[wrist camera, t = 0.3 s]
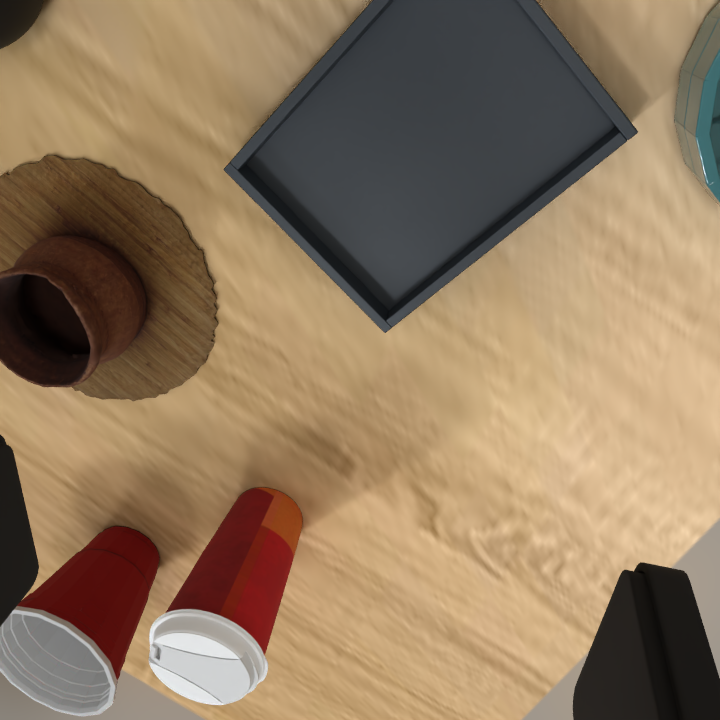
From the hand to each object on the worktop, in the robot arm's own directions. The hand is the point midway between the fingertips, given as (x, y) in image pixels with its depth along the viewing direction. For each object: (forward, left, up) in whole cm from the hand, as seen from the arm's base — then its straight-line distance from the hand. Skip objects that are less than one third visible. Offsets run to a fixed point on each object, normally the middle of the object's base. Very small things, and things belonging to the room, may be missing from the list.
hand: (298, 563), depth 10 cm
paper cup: (+29, +12, -31) cm, 44 cm away
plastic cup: (+43, +7, -31) cm, 53 cm away
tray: (+1, -1, -31) cm, 31 cm away
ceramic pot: (+24, -9, -31) cm, 40 cm away
